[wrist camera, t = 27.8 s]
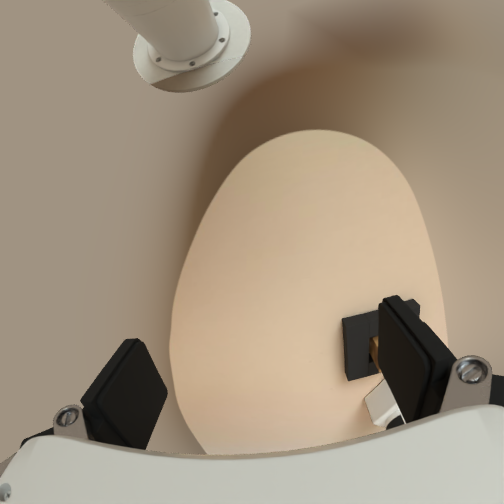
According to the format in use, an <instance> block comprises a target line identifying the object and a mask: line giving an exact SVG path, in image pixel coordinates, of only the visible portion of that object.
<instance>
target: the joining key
mask: <svg viewBox="0 0 504 504" xmlns="http://www.w3.org/2000/svg"><path fill="white" fill-rule="evenodd" d="M369 353H370V355H371V357H372V359H373V361H374V363H375V365H376V367H377V369H378V371H379V373H380V372H381V370H380V368H379V365H378V360H377V356H378V336H375V337H371V338H369Z"/></svg>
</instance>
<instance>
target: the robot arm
mask: <svg viewBox="0 0 504 504" xmlns="http://www.w3.org/2000/svg"><path fill="white" fill-rule="evenodd" d="M102 1H104V2H105V3H106V4H107V5H109V6H110V7H111V8H112V9H113V10H114V11H115V12H116V13H117V14H119V15H120V16H121V17H122V18H123V19H124V20H126V21H127V22H128V23H129V25H131V26H132V27H133V28H134V29H135V30H136V31H137V32H138V33H139V34H140V35H141V36H142V37H143V38H144V39H145V40H146V41H147V42H148V43H147V50H148V54H149V57H150V58H151V60H152V61H153V62H154V63H155V64H156V65H157V66H158V67H160V68H161V69H164V70H166V71H169V72H176V73H183V72H190V71H194V70H198V69H200V68H202V67H205V66H206V65H208V64H210V63H212V62H213V61H214V60H215V59H217V58H218V57H219V56H220V55H221V54H222V53H223V51H224V50H225V48H226V47H227V45H228V42H229V40H230V33H231V32H230V26H229V23H228V21H227V19H226V17H225V16H224V15H223V14H222V13H221V12H219V11H218V10H216V9H213V8H211V5H210V2H209V0H102ZM221 42H223V43H221ZM159 61H160V62H159ZM193 65H194V66H193ZM377 360H378V365H379V368H380V370H381V372H382V374H383V376H384V378H385V380H386V382H387V384H388V386H389V388H390V390H391V392H392V394H393V396H394V399H395V401H396V403H397V405H398V407H399V409H400V412H401V414H402V416H403V418H404V420H405V423H406V424H404V425H401V426H398V427H394V428H391V429H388V430H385V431H381V432H378V433H374V434H370V435H367V436H363V437H359V438H355V439H350V440H346V441H342V442H337V443H332V444H327V445H322V446H316V447H310V448H304V449H297V450H289V451H281V452H271V453H258V454H239V455H199V454H179V453H166V452H157V451H148V450H146V447H147V444H148V442H149V439H150V437H151V434H152V432H153V429H154V427H155V424H156V422H157V420H158V417H159V415H160V412H161V410H162V408H163V405H164V402H165V400H166V398H167V394H168V393H167V388H166V386H165V384H164V383H163V380H162V378H161V376H160V375H159V373H158V371H157V369H156V367H155V365H154V362H153V360H152V358H151V356H150V354H149V352H148V350H147V348H146V346H145V344H144V342H141V341H140V340H139V339H138V338H136V339H126V340H125V341H124V342H123V343H122V344H121V345H120V347H119V348H118V349H117V351H116V352H115V353H114V355H113V356H112V357H111V359H110V360H109V361H108V363H107V364H106V365H105V367H104V368H103V369H102V371H101V372H100V373H99V375H98V376H97V378H96V379H95V380H94V382H93V383H92V384H91V386H90V387H89V389H88V390H87V391H86V393H85V394H84V396H83V397H82V398H81V400H80V401H81V403H82V404H83V406H84V408H83V409H81V407H79V406H77V405H68V406H65V407H63V408H62V409H60V410H59V411H58V412H57V413H56V415H55V417H54V420H53V428H50V429H48V430H46V431H43V432H41V433H38V434H36V435H34V436H31V437H29V438H26V439H24V440H23V441H22V443H21V447H20V449H19V451H18V452H16V453H15V454H13V455H12V456H11V457H9V458H8V459H6V460H5V461H4V462H2V463H0V504H504V376H499V375H493V374H492V367H491V366H490V364H489V362H487V361H486V360H485V359H484V358H481V357H479V356H474V355H471V356H465V357H462V358H460V359H458V360H457V359H456V357H455V356H454V355H453V354H452V353H451V351H450V350H449V349H448V348H447V347H446V345H445V344H444V343H443V342H442V341H441V340H440V339H439V337H438V336H437V335H436V334H435V333H434V332H433V331H432V329H431V328H430V327H429V326H428V325H427V324H426V323H425V322H422V321H421V319H420V318H419V317H418V316H417V315H416V314H415V313H414V312H413V311H412V310H411V309H410V307H409V306H408V305H407V304H406V303H405V302H404V301H403V300H402V299H401V298H400V297H399V296H398V295H395V296H391V297H387V298H384V299H383V301H382V303H379V307H378V356H377Z"/></svg>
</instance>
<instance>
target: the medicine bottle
mask: <svg viewBox="0 0 504 504" xmlns="http://www.w3.org/2000/svg"><path fill="white" fill-rule="evenodd" d="M365 402H366V405H367V408H368V411H369V414H370V416H371V419H372V422H373V424H374V425H377V426H381V427H385V428H386V430H388V429H391V428H394V427H398V426H401V425H404V424H406V423H405V420H404V418H403V416H402V414H401V412H400V409H399V407H398V405H397V403H396V401H395V399H394V396H393V394H392V392H391V390H390V388H389V386H388V384H387V382H386V380H385V379H384V380H383V381H382V382H381V383H380V384H379V385H378V386H377V387H376V388H375V389H374V390H373V391H372V392H370V393H369V394H368V395H367V396H366V397H365Z"/></svg>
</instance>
